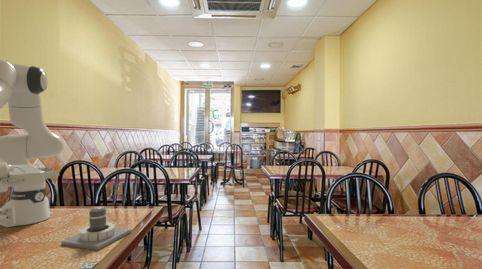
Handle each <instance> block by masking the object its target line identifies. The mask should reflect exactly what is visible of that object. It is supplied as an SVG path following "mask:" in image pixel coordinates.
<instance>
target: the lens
mask: <svg viewBox="0 0 482 269" xmlns="http://www.w3.org/2000/svg"><path fill="white" fill-rule="evenodd" d="M88 212H89V215H88V218H89V219H88V220H89V226H90V232H99V231H103V230H105V229H106V223H107V209H106V206H103V205H99V206H93V207H91V208H90V211H88Z"/></svg>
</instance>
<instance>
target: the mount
mask: <svg viewBox="0 0 482 269" xmlns="http://www.w3.org/2000/svg"><path fill="white" fill-rule="evenodd" d="M131 233H132V229H131V228H125V227H124V228H122V227H116V224H114V223H112V222H106V229H105V230H103V231H99V232H90V225H87V226H85V227H83V228H82V229H81V230H79V233H77V234H76V235H73V236H70V237H69V238H66V239H64V240H62V241H61V245H62V246H67V247H74V248H80V249H88V250H93V251H99V250H101V249H103V248H105V247H106V246H109V245H110V244H112V243H114V242H116V241H118V240H120V239H121V238H123V237H124V238H125V237H126V236H127V235H129V234H131Z"/></svg>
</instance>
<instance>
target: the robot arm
mask: <svg viewBox="0 0 482 269" xmlns="http://www.w3.org/2000/svg"><path fill="white" fill-rule="evenodd" d="M48 83H49V79H48V76H47V73H46V72H45V70H44V69H43V68H40V67H38V66H34V65H32V66H30V65H25V64H21V63H20V64H19V63H12V62H11V63H10V62H8V61H6V60H4V59H1V58H0V109H3V108H4V106H5V105H7V106H8V113H9V121H10V123H11V124H12V125H13V126H15V127H16V128H18V129H21V130H24V131H26V133H28V134H6V135H1V136H0V193H5V192H7V191H8V189H9V187H10V188H11V187H13V190H12V191H10V192H9V193H10V194H9V195H10V200H9V201H8V202H6V203H5V204H4V205H2V206H1V207H0V226H2V227H4V228H12V227H17V226H26V225H31V224H32V225H33V224H36V223H40V222H44V221H46V220H48V219H50V218H51V215H52V214H53V213H52V211H51V210H50V201H49V197H47V195H48V194H47V192H48V191H47V190H48V189H47V187H46V180H48V179H52V178H57V177H59V176H60V171H59V170H53V169H52V167H49V166H48V167H39V166H36V165H33V164H31V163H30V161H29V159H49V158H53V157H57V156H60V154H62V152H63V151H64V147H65V145H64V144H65V143H64V140H63V139H62V137H61V136H60V135H58V134H55V133H54V132H52V131H51V130H50V128H48V126H47V125H46V123H45V121H44V114H43V106H42V98H41V93H43V92H45V90H46V89H47V87H48Z"/></svg>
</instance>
